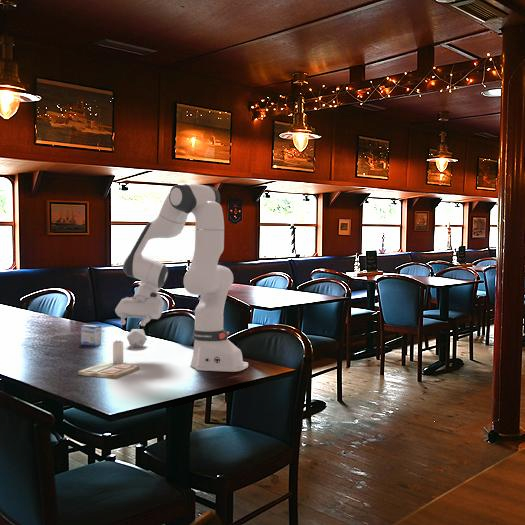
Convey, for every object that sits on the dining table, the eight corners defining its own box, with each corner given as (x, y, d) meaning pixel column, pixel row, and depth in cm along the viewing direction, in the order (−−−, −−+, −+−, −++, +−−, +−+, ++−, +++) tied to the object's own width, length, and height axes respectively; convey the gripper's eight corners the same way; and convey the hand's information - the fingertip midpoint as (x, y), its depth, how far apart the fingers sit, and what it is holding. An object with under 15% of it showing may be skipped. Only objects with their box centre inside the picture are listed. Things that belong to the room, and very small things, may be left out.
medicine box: (81, 344, 286) (80, 325, 286) (87, 342, 290) (87, 324, 290) (95, 345, 283) (95, 326, 283) (101, 344, 287) (101, 325, 287)
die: (137, 350, 276) (149, 332, 279) (121, 340, 277) (133, 322, 280) (140, 353, 284) (152, 335, 287) (124, 343, 285) (136, 326, 288)
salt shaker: (125, 362, 249) (125, 339, 248) (119, 364, 245) (119, 341, 244) (116, 361, 250) (116, 338, 250) (111, 363, 246) (110, 340, 246)
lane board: (139, 369, 238) (139, 365, 237) (116, 378, 222) (116, 374, 222) (103, 365, 243) (103, 361, 243) (77, 374, 228) (77, 370, 228)
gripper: (120, 292, 267) (107, 318, 258) (162, 294, 260) (151, 321, 251) (125, 301, 271) (113, 327, 262) (168, 304, 264) (156, 330, 256)
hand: (132, 324), depth 257 cm, fingers open, 8 cm apart
